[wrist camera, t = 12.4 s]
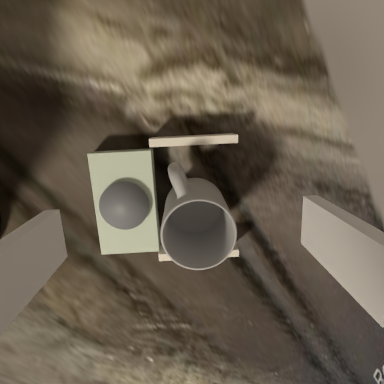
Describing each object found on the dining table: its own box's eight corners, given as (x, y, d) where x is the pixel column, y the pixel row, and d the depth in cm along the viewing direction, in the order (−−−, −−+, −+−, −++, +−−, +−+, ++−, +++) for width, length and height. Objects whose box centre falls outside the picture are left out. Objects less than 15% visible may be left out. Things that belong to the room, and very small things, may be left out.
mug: (232, 220, 41) (249, 254, 31) (179, 241, 42) (178, 282, 31) (201, 144, 39) (209, 154, 28) (145, 168, 39) (131, 186, 28)
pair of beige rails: (108, 251, 42) (100, 264, 38) (93, 140, 38) (82, 142, 34) (233, 243, 42) (238, 256, 38) (232, 133, 38) (238, 134, 34)
